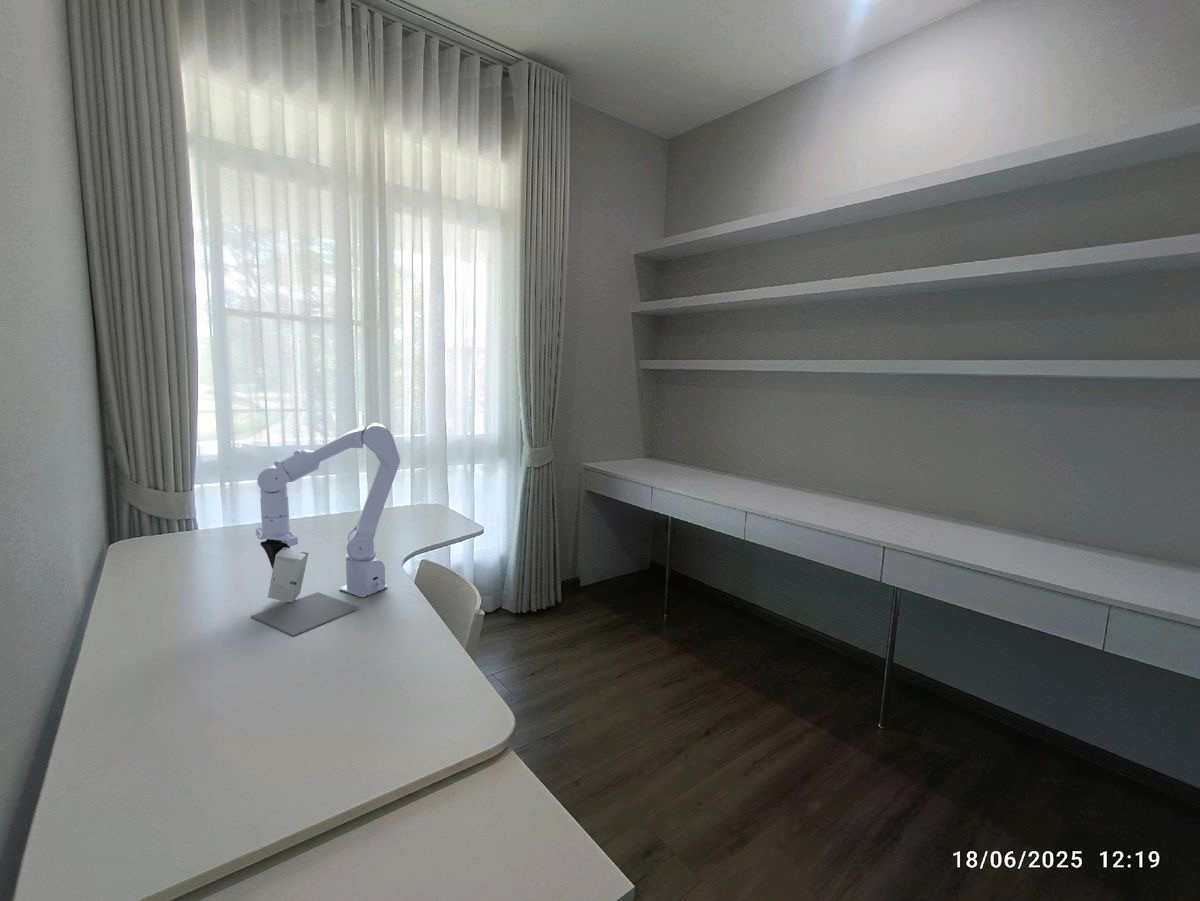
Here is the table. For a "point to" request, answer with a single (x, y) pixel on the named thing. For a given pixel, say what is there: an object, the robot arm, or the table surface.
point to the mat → (304, 613)
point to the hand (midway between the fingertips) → (278, 568)
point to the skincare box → (287, 574)
